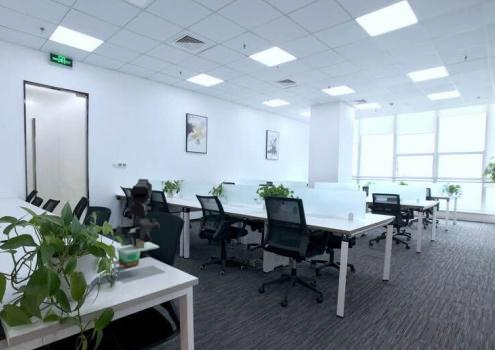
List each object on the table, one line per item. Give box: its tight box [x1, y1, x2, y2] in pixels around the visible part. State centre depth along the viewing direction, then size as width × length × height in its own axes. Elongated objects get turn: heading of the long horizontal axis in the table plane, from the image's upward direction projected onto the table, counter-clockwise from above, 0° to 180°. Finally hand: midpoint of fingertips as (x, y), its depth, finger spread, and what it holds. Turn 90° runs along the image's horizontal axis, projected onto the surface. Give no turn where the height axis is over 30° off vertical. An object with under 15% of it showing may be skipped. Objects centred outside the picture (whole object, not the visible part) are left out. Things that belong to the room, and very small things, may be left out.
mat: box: [115, 265, 166, 284], centre depth 129 cm, size 13×20×1 cm, turn 137°
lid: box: [116, 239, 160, 254], centre depth 131 cm, size 10×16×4 cm, turn 137°
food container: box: [116, 249, 140, 269], centre depth 138 cm, size 12×6×10 cm, turn 143°
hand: (138, 245), depth 131 cm, fingers closed on lid, 3 cm apart
